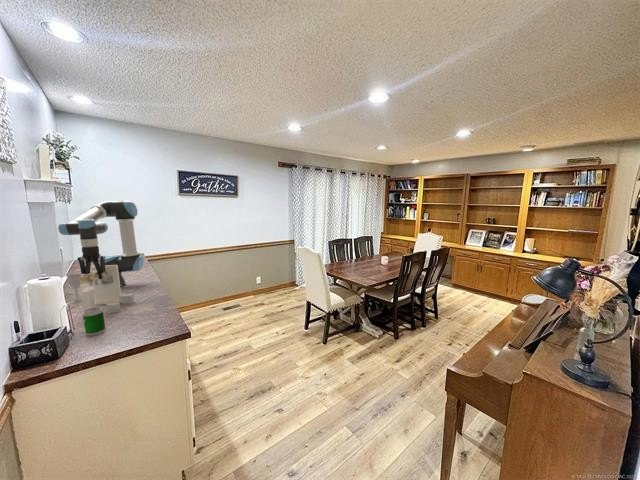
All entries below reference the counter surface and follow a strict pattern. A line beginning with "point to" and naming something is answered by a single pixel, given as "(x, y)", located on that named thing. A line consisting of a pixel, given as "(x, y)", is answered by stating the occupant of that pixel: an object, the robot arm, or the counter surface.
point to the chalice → (75, 285)
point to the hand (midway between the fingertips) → (95, 284)
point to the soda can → (94, 321)
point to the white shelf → (104, 289)
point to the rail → (90, 277)
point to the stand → (116, 306)
